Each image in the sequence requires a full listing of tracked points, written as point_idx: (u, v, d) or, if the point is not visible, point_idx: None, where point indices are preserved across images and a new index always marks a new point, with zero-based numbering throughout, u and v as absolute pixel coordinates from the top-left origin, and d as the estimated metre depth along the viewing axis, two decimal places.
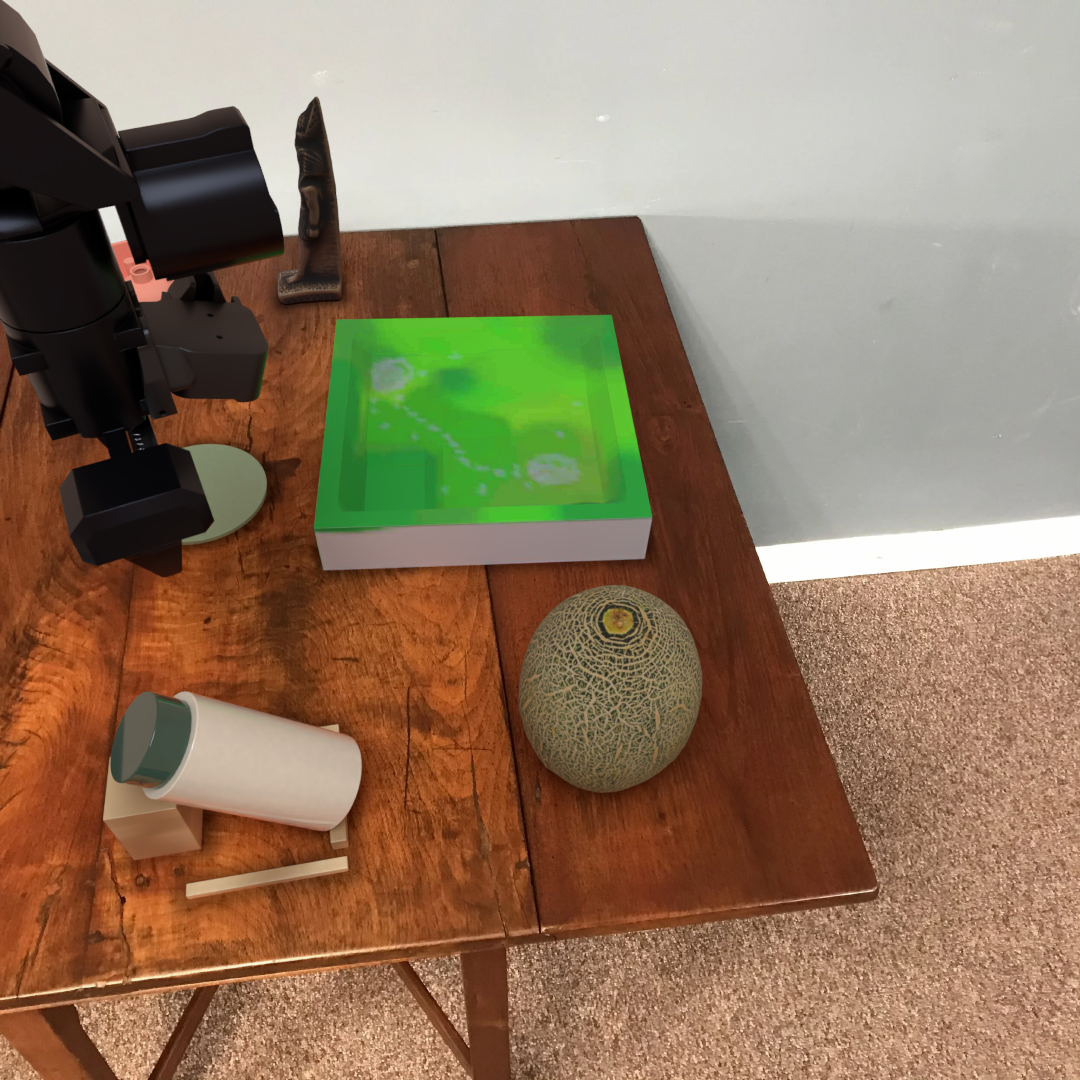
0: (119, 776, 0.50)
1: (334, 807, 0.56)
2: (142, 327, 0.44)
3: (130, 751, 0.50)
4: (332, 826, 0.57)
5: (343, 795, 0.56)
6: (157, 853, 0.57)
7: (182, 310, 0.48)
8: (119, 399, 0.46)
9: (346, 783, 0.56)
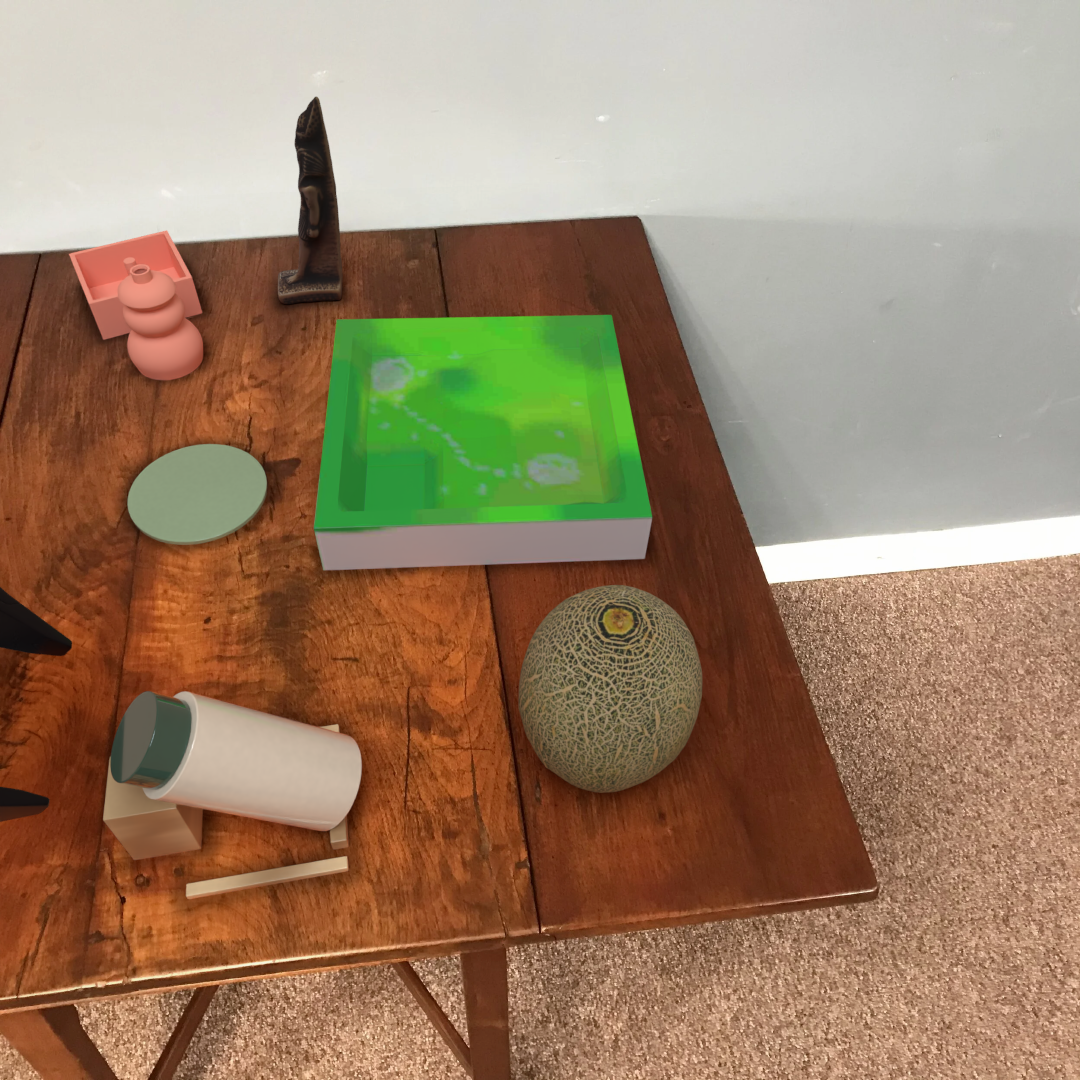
0: (119, 776, 0.50)
1: (334, 807, 0.56)
2: None
3: (130, 751, 0.50)
4: (332, 826, 0.57)
5: (343, 795, 0.56)
6: (157, 853, 0.57)
7: None
8: None
9: (346, 783, 0.56)
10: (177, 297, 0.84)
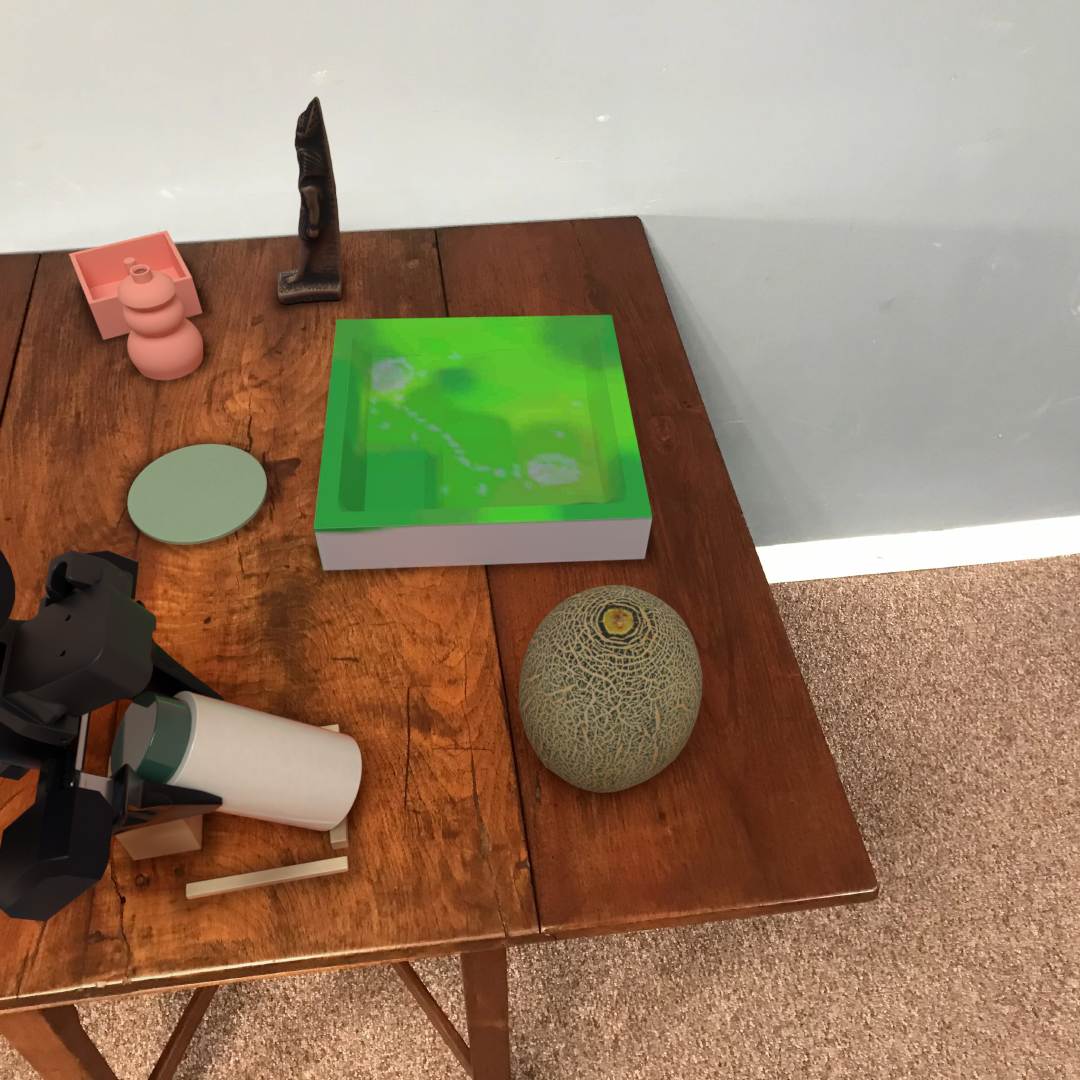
0: None
1: (335, 807, 0.56)
2: None
3: (130, 751, 0.50)
4: (332, 826, 0.57)
5: (343, 795, 0.56)
6: (157, 853, 0.57)
7: (45, 623, 0.44)
8: (18, 746, 0.44)
9: (346, 783, 0.56)
10: (177, 297, 0.84)
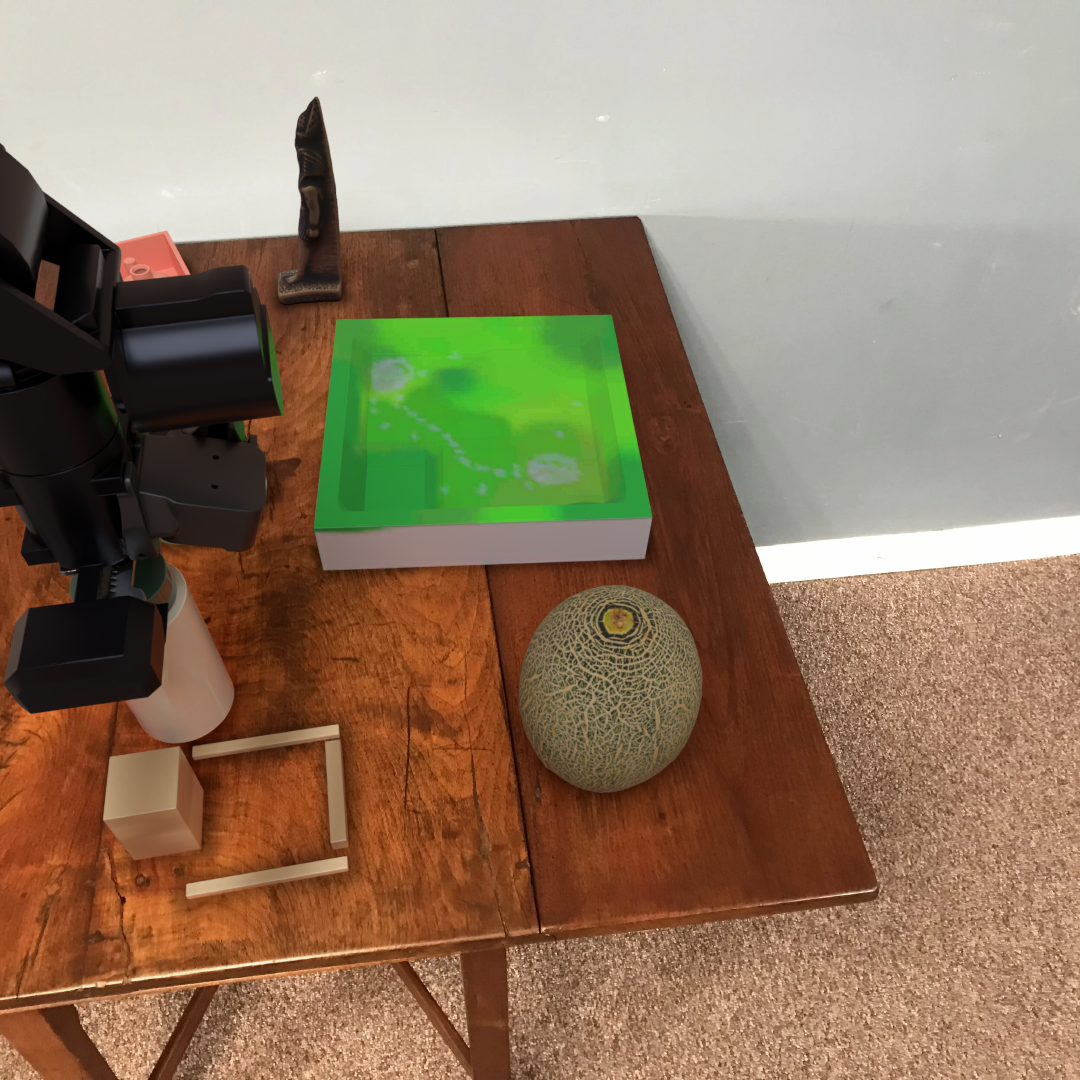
0: None
1: (204, 724, 0.58)
2: (124, 475, 0.42)
3: None
4: (183, 741, 0.58)
5: (216, 717, 0.58)
6: (157, 853, 0.57)
7: (187, 449, 0.46)
8: (96, 539, 0.44)
9: (223, 708, 0.59)
10: None
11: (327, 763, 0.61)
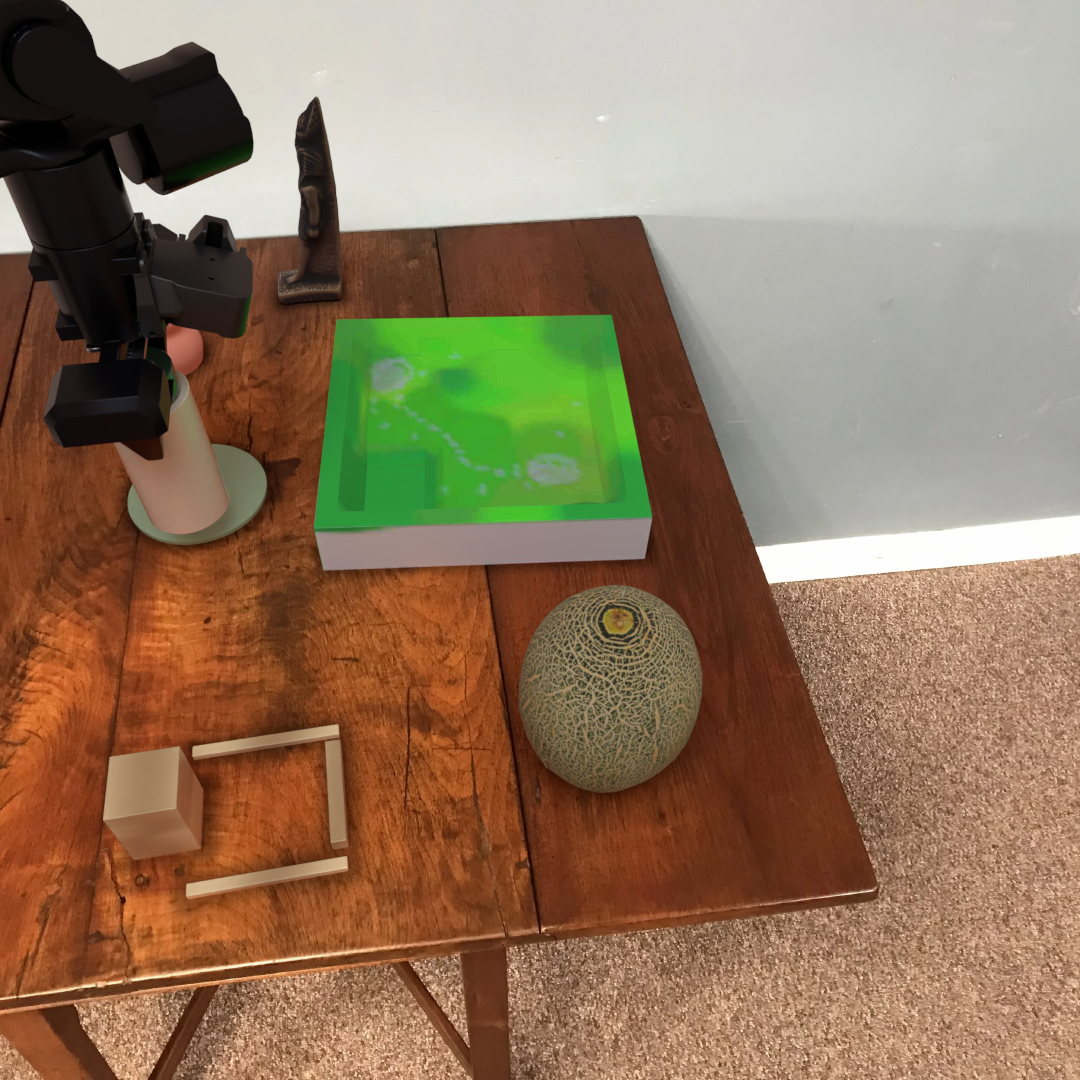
0: None
1: (204, 517, 0.68)
2: (139, 258, 0.53)
3: None
4: (186, 532, 0.69)
5: (214, 513, 0.69)
6: (157, 853, 0.57)
7: (189, 251, 0.57)
8: (115, 316, 0.54)
9: (219, 506, 0.69)
10: None
11: (327, 763, 0.61)
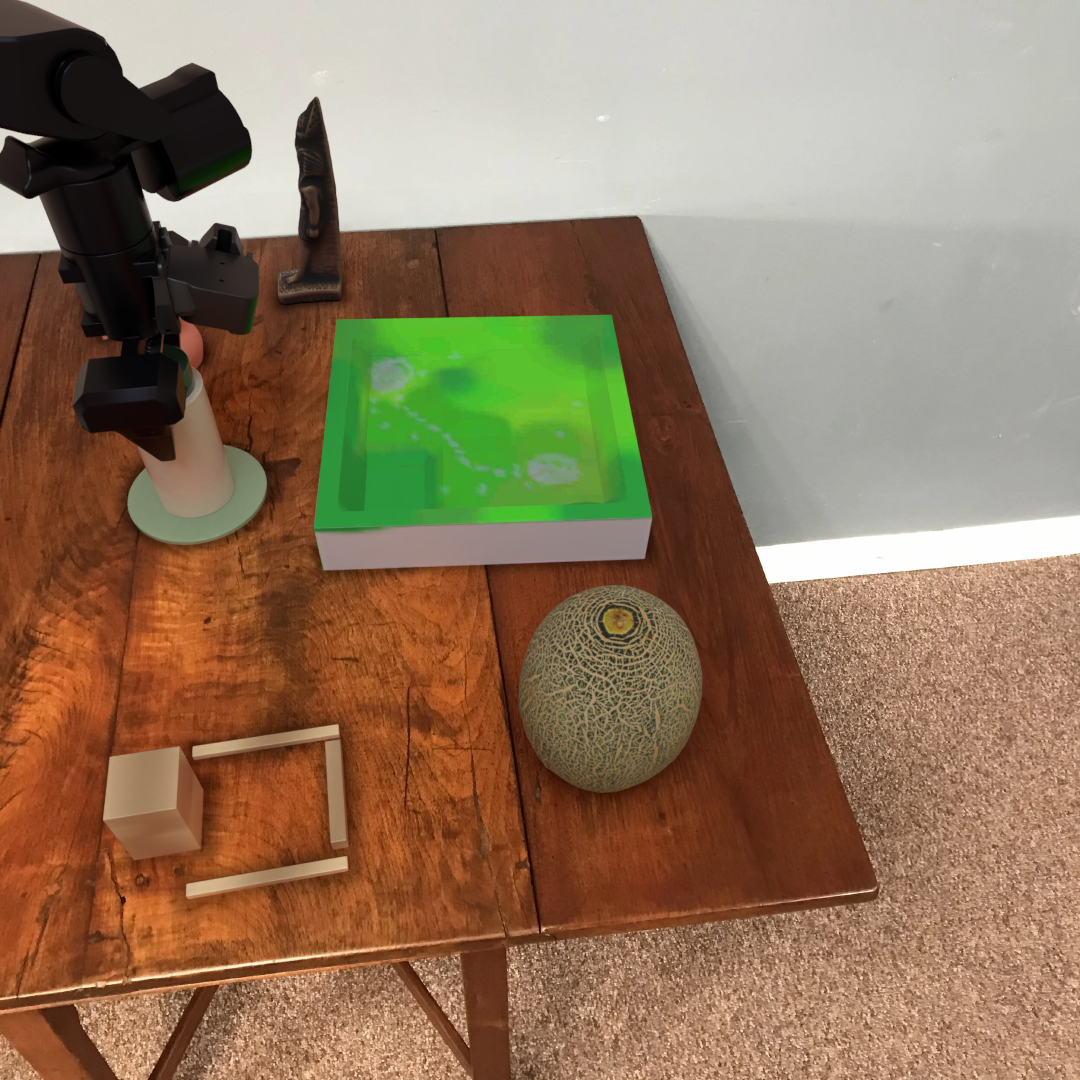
0: None
1: (212, 503, 0.74)
2: (157, 262, 0.59)
3: None
4: (195, 516, 0.74)
5: (221, 498, 0.75)
6: (157, 853, 0.57)
7: (201, 256, 0.62)
8: (135, 314, 0.60)
9: (226, 492, 0.75)
10: None
11: (327, 763, 0.61)
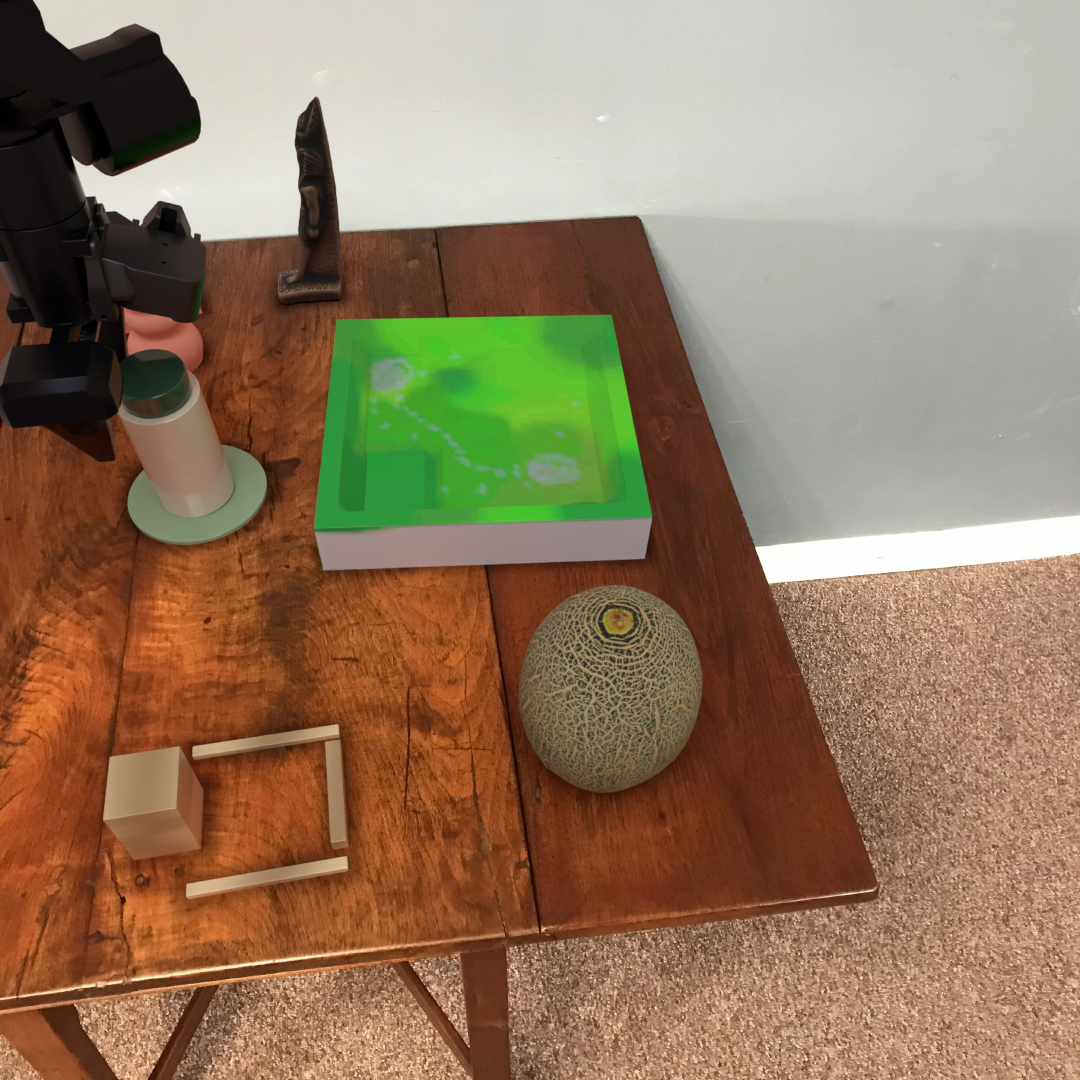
0: (130, 394, 0.65)
1: (211, 503, 0.74)
2: (90, 240, 0.53)
3: (145, 382, 0.65)
4: (195, 516, 0.74)
5: (220, 498, 0.75)
6: (157, 853, 0.57)
7: (142, 236, 0.57)
8: (66, 298, 0.55)
9: (226, 492, 0.75)
10: None
11: (327, 763, 0.61)
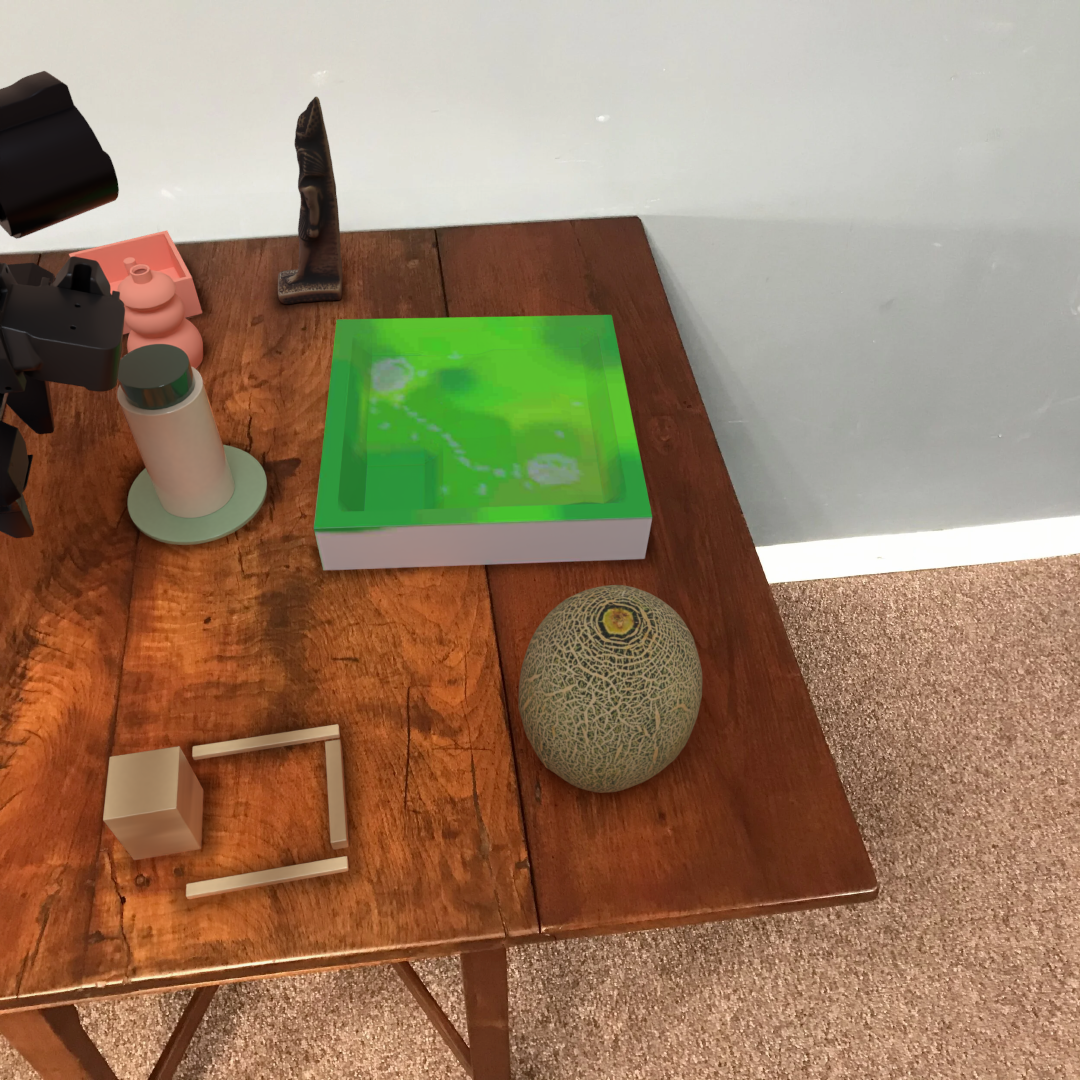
0: (134, 383, 0.65)
1: (212, 503, 0.74)
2: None
3: (149, 373, 0.66)
4: (195, 516, 0.74)
5: (221, 499, 0.75)
6: (157, 853, 0.57)
7: (51, 297, 0.52)
8: None
9: (226, 492, 0.75)
10: (177, 297, 0.84)
11: (327, 763, 0.61)
